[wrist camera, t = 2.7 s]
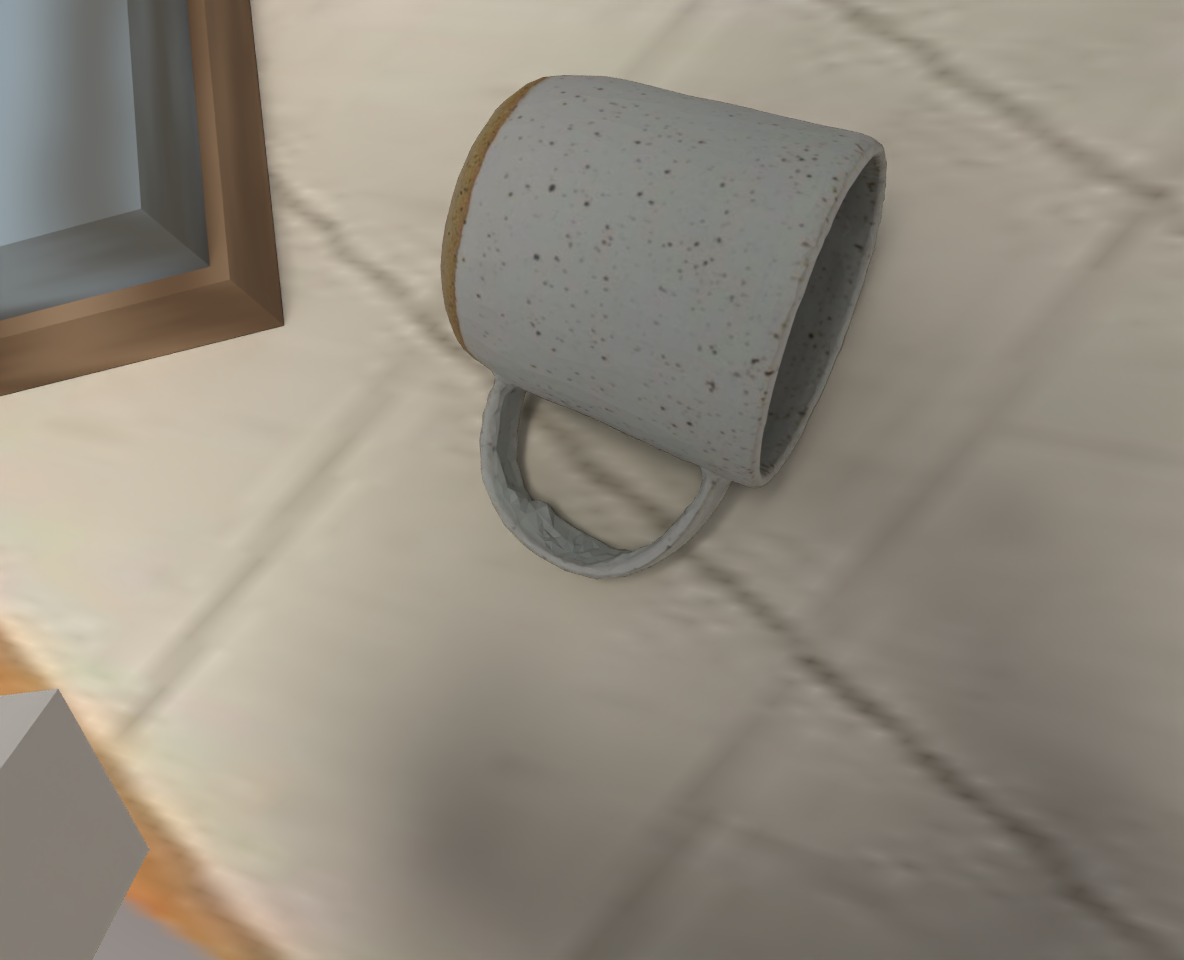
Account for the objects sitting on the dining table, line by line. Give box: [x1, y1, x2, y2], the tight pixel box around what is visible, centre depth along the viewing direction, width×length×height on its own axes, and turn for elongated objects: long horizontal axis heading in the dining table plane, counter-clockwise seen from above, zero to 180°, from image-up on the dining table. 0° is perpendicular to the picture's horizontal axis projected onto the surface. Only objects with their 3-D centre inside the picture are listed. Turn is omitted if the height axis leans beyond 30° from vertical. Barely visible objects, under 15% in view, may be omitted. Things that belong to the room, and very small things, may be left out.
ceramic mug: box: [441, 75, 887, 579], centre depth 24 cm, size 11×8×8 cm
